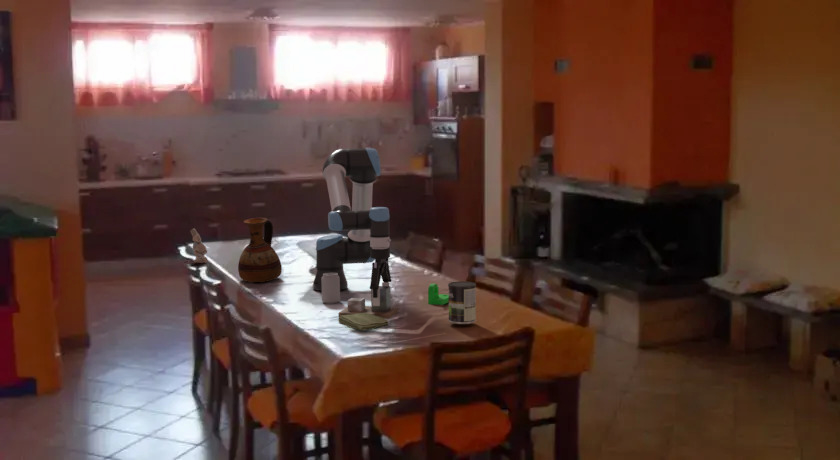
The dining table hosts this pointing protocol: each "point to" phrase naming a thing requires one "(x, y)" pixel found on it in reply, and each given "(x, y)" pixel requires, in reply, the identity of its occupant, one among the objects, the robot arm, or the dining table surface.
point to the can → (330, 288)
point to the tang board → (365, 309)
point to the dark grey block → (383, 300)
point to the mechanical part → (436, 296)
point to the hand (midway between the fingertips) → (381, 302)
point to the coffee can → (462, 302)
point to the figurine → (198, 247)
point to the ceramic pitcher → (259, 253)
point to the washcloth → (362, 321)
